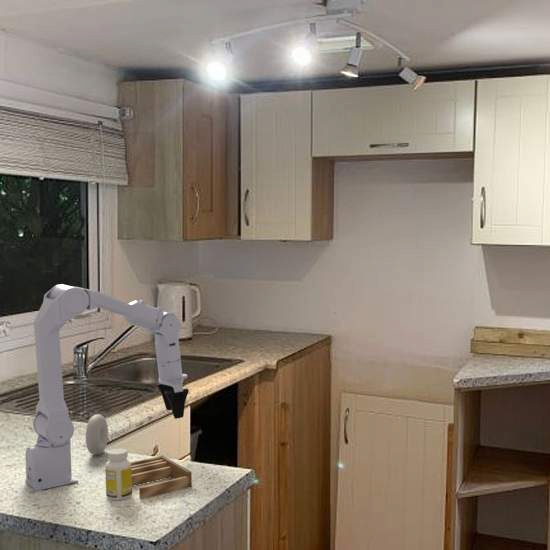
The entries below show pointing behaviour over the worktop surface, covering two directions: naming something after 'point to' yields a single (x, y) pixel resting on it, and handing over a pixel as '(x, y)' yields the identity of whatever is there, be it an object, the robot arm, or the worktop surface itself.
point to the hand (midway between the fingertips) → (174, 413)
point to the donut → (96, 434)
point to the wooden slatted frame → (159, 476)
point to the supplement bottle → (118, 475)
